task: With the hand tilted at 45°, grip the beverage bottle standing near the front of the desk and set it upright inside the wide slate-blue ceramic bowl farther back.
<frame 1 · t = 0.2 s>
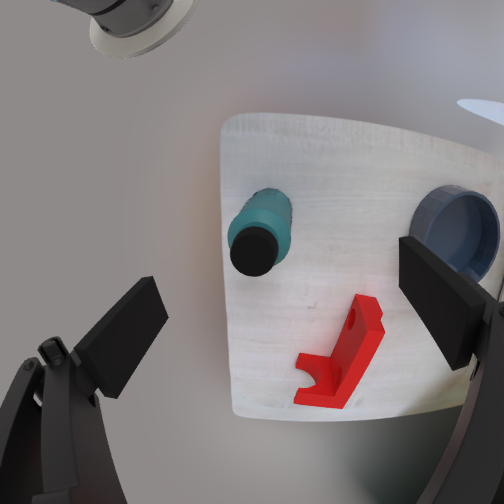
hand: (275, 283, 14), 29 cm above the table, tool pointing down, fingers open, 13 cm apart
bowl: (448, 232, 37), on the table
bracket: (333, 333, 48), on the table
beverage bottle: (271, 207, 41), on the table
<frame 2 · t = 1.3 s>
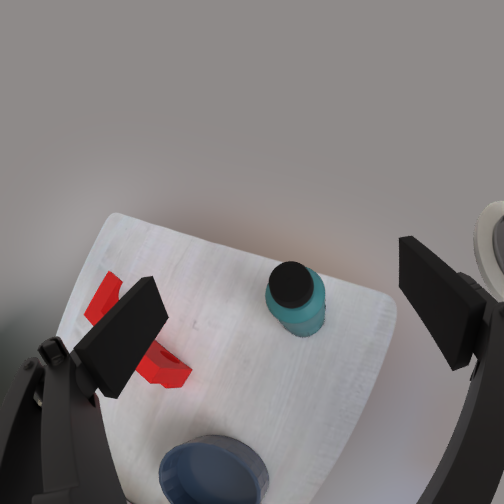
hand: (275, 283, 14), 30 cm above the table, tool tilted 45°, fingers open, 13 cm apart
bowl: (220, 476, 33), on the table
bracket: (159, 335, 46), on the table
beverage bottle: (304, 319, 42), on the table
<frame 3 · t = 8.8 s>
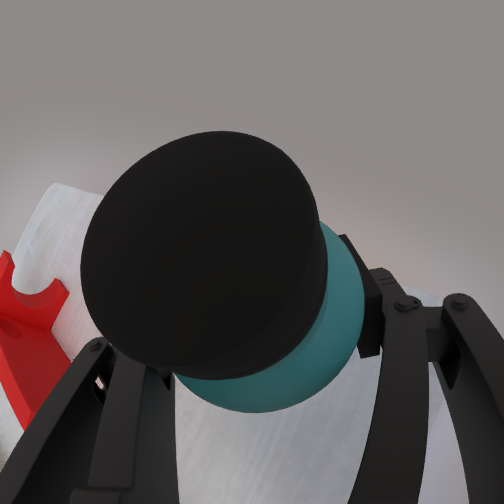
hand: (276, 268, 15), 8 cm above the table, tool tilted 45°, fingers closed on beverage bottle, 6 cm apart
bracket: (72, 351, 26), on the table
beverage bottle: (295, 345, 21), on the table, touching gripper
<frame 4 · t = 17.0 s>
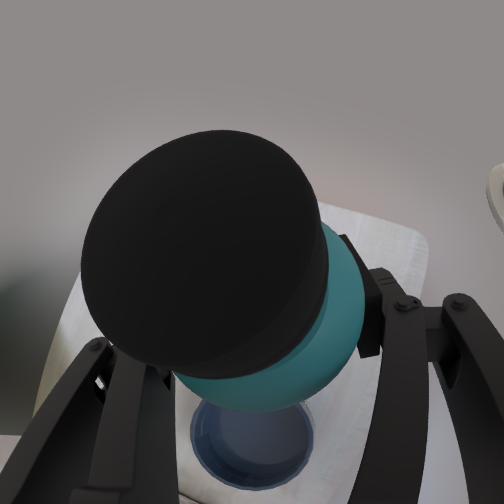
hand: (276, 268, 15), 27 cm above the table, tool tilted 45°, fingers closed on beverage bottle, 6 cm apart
bowl: (258, 430, 34), on the table
beverage bottle: (295, 345, 21), point 18 cm above the table, touching gripper
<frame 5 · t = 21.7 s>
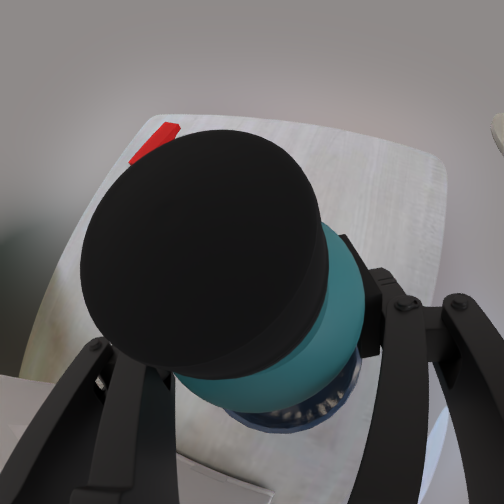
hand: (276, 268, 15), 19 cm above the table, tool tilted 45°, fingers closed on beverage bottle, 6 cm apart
bowl: (286, 358, 31), on the table
bracket: (209, 196, 44), on the table
beverage bottle: (295, 345, 21), point 11 cm above the table, touching gripper
laptop: (140, 498, 26), on the table
when the fingers open (9 cm above the table, at t = 25.6 s): beverage bottle stays where it is, resting on bowl.
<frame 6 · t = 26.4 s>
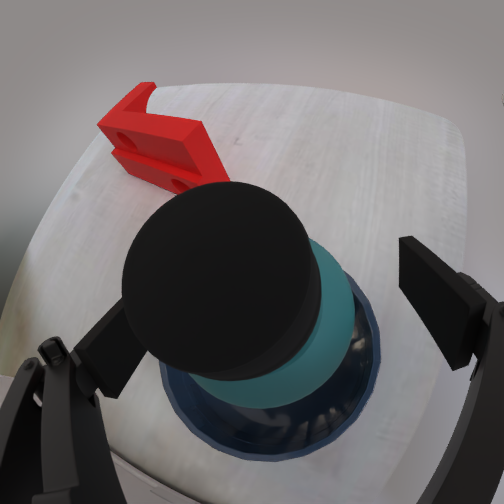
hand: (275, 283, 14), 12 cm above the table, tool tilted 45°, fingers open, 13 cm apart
bowl: (275, 356, 23), on the table
bracket: (187, 161, 36), on the table
beverage bottle: (296, 348, 23), point 1 cm above the table, touching bowl
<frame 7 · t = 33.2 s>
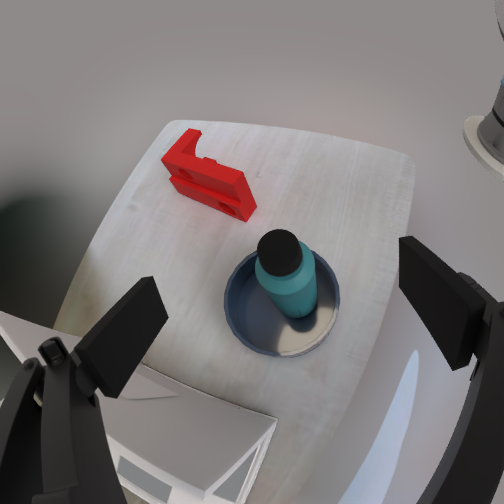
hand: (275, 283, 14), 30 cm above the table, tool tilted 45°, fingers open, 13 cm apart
bowl: (285, 306, 43), on the table
bracket: (224, 187, 56), on the table
beverage bottle: (297, 301, 42), point 1 cm above the table, touching bowl
laptop: (161, 442, 37), on the table
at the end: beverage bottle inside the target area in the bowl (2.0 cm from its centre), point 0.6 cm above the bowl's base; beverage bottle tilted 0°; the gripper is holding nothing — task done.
